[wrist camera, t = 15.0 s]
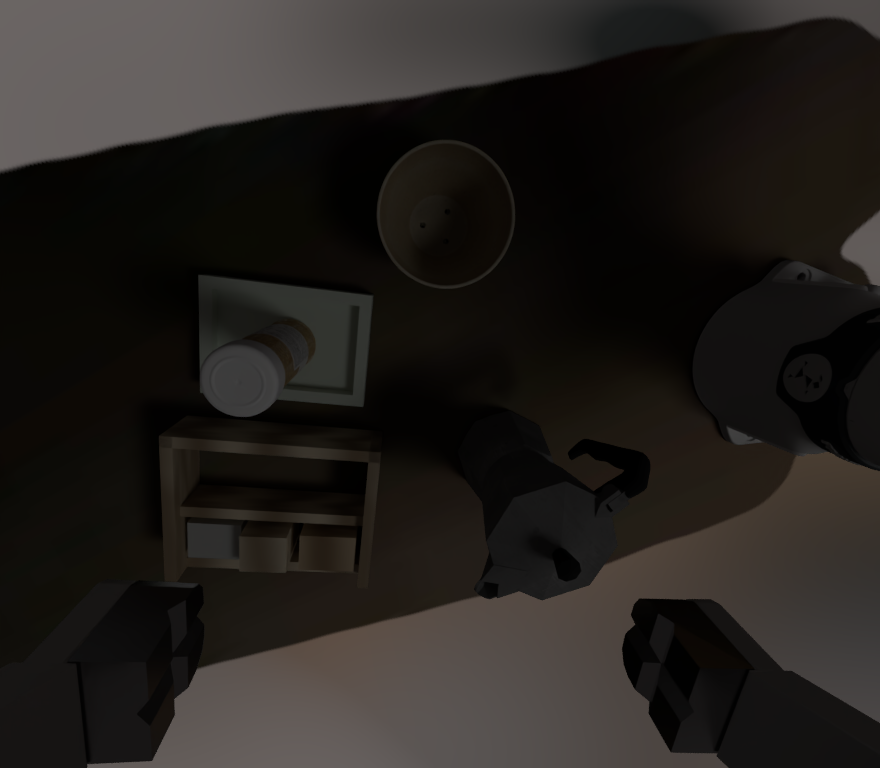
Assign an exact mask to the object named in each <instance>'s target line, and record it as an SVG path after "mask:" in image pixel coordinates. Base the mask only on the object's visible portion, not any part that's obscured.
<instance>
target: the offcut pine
mask: <svg viewBox="0 0 880 768" xmlns="http://www.w3.org/2000/svg"><path fill="white" fill-rule="evenodd" d="M298 537H299V523H294V522H275V521H256V520H249V521H248V522H247V524H246V526H245V527H244V529H243V531H242V533H241V534H240V536H239V571H242V572H274V573H286V570H287V568H288V565H289V562H290V559H291V556H292V554H293V551H294V548H295V545H296V543H297V540H298Z"/></svg>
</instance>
